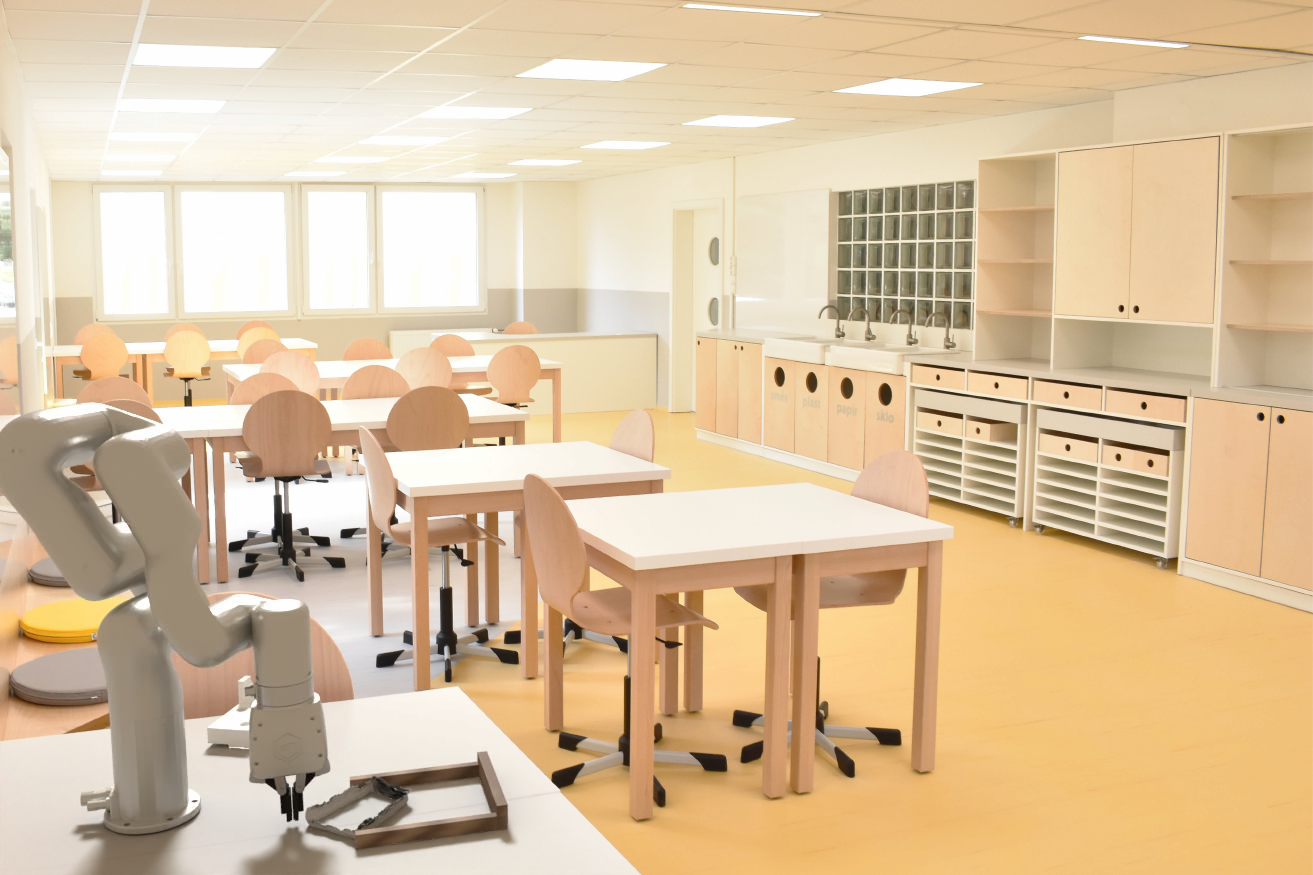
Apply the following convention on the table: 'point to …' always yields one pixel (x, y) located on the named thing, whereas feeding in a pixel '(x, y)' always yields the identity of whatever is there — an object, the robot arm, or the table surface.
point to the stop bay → (444, 826)
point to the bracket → (234, 721)
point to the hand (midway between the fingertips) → (292, 816)
